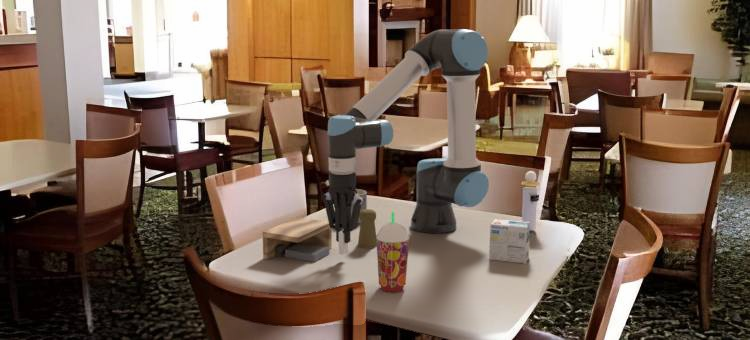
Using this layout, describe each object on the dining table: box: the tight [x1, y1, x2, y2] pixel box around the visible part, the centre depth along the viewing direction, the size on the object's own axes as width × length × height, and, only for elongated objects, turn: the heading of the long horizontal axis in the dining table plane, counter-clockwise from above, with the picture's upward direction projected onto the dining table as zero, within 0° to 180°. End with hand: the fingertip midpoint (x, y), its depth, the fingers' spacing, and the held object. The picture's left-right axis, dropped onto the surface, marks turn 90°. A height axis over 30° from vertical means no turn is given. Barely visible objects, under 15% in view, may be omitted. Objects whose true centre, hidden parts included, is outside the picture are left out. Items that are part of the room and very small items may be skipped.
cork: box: [357, 208, 377, 249], centre depth 219 cm, size 6×6×11 cm
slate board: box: [284, 243, 330, 262], centre depth 210 cm, size 10×8×2 cm
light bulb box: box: [488, 218, 531, 264], centre depth 207 cm, size 11×7×11 cm, turn 71°
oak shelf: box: [262, 216, 333, 260], centre depth 211 cm, size 12×18×8 cm, turn 153°
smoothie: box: [376, 211, 410, 293], centre depth 182 cm, size 8×8×20 cm
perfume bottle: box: [521, 170, 541, 232], centre depth 235 cm, size 6×6×20 cm
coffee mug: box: [351, 188, 368, 225], centre depth 249 cm, size 13×10×10 cm
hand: (343, 253), depth 205 cm, fingers closed
